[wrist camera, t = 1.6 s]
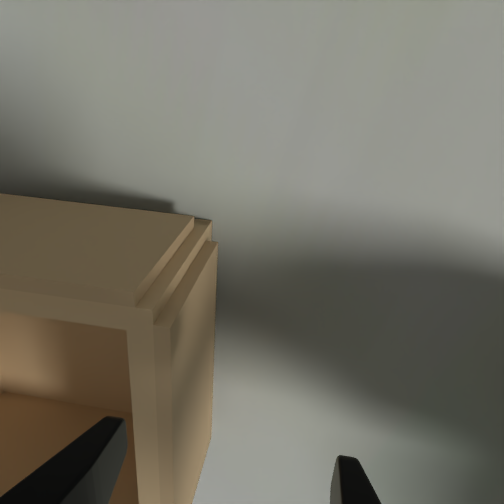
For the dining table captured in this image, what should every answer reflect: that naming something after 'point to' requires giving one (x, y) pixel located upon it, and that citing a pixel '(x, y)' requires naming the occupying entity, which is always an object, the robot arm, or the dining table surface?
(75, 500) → the robot arm
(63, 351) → the carton
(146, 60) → the dining table surface
